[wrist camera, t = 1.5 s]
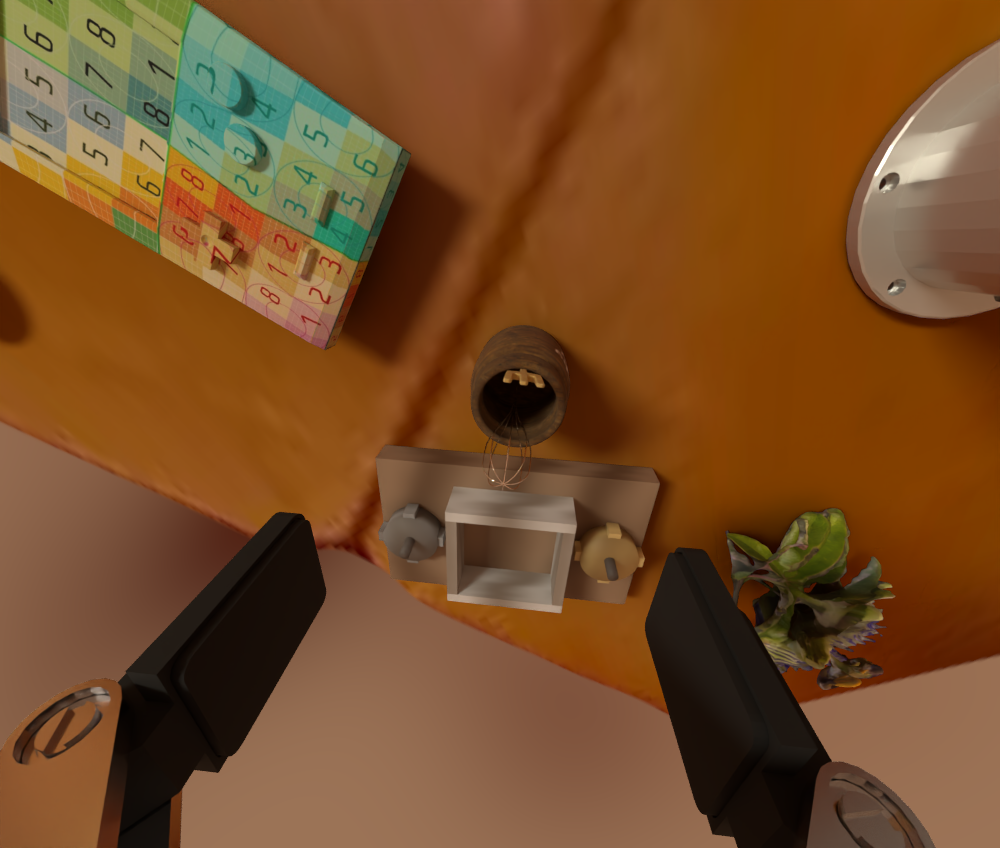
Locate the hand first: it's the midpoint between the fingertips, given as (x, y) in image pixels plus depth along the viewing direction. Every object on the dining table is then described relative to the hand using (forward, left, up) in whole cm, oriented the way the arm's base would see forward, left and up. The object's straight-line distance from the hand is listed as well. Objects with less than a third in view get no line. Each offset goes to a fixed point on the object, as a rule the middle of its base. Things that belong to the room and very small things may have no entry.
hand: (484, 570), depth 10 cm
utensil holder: (0, 0, -18) cm, 18 cm away
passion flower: (-21, +15, -18) cm, 32 cm away
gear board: (0, +14, -18) cm, 22 cm away
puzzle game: (+18, -11, -18) cm, 28 cm away
